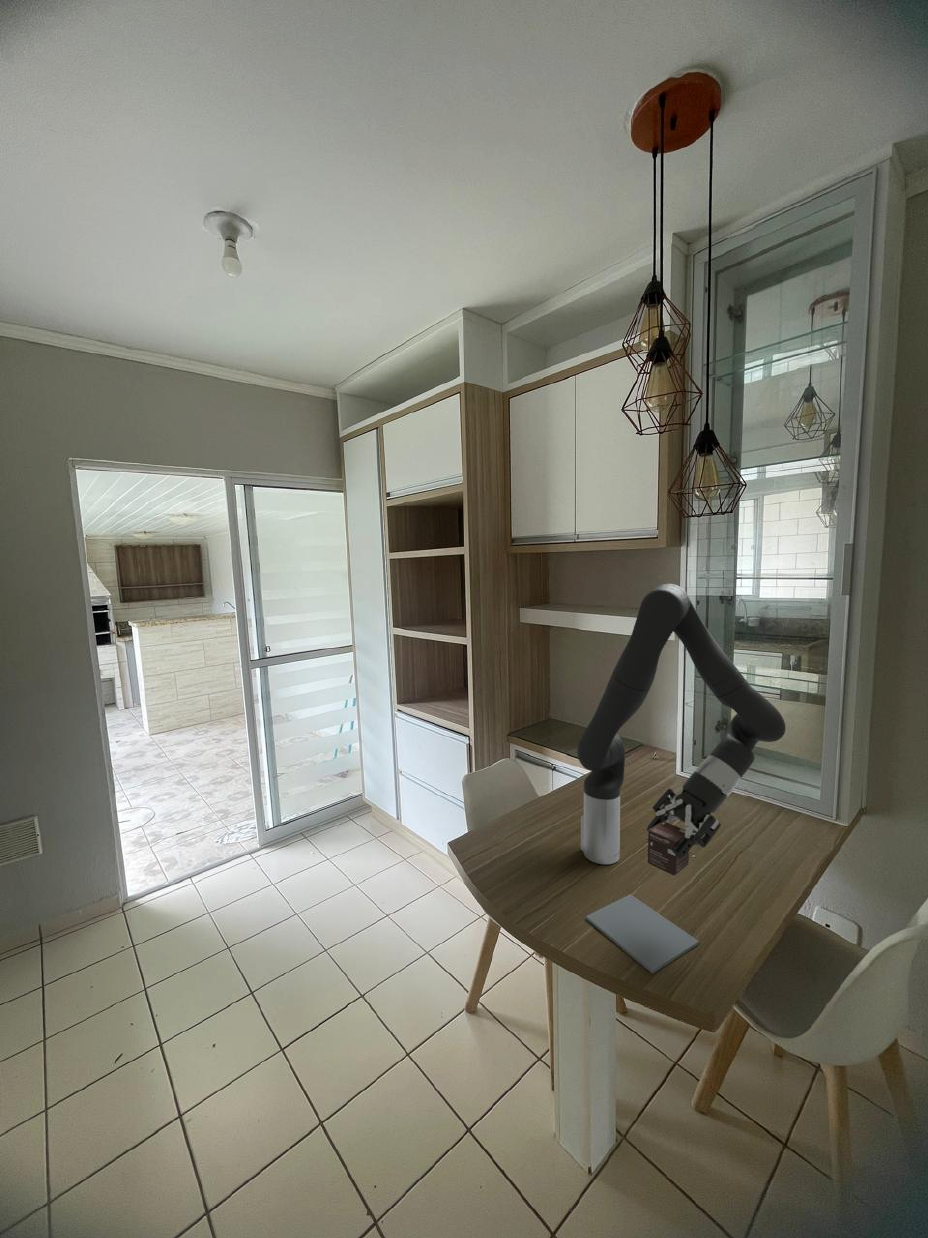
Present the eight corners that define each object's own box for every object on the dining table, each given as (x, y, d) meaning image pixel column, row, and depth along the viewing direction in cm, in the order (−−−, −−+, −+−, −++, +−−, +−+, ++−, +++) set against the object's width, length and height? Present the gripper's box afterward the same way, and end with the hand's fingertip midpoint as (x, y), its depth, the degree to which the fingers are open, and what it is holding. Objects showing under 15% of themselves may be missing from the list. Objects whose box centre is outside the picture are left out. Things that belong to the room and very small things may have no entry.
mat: (585, 919, 103) (585, 916, 103) (630, 896, 110) (630, 894, 110) (652, 974, 88) (652, 971, 88) (698, 944, 95) (698, 941, 95)
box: (646, 863, 100) (647, 829, 99) (661, 852, 103) (662, 820, 103) (675, 877, 95) (675, 841, 94) (689, 865, 99) (690, 831, 98)
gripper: (677, 760, 106) (631, 816, 105) (727, 786, 92) (674, 852, 91) (697, 780, 108) (652, 836, 106) (749, 809, 94) (697, 874, 92)
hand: (662, 843), depth 98 cm, fingers closed on box, 8 cm apart
